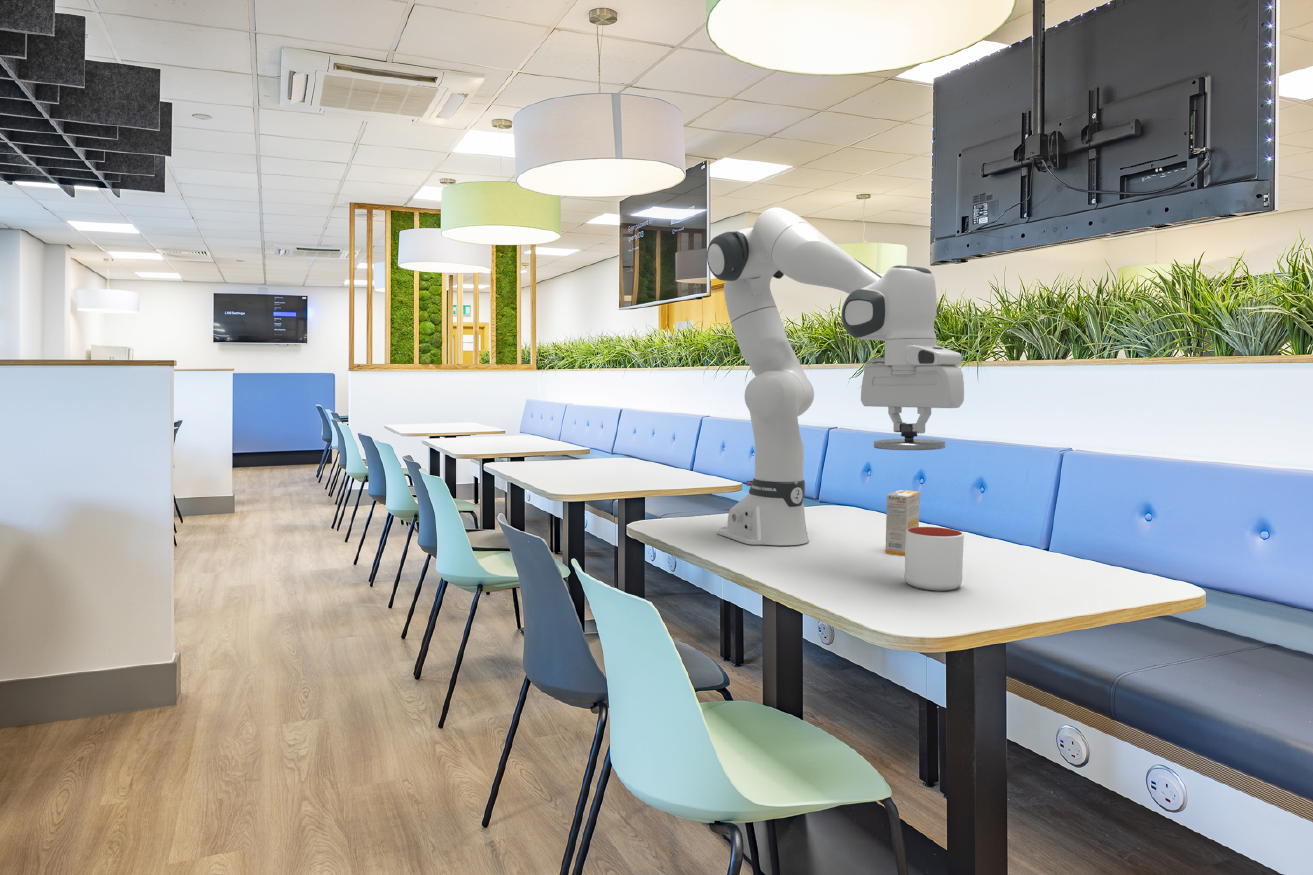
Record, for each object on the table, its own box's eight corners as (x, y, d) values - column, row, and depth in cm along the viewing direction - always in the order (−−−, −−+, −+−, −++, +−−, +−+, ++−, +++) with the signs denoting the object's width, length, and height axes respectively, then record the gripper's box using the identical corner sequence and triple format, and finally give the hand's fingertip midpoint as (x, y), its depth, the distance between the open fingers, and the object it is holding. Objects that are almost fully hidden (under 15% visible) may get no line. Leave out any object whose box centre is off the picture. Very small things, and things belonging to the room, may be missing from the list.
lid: (860, 448, 152) (860, 424, 152) (897, 443, 161) (896, 421, 160) (922, 451, 143) (922, 427, 143) (958, 446, 152) (958, 423, 151)
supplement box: (897, 547, 188) (899, 489, 187) (918, 550, 185) (920, 491, 184) (883, 553, 181) (885, 493, 180) (905, 556, 178) (907, 495, 177)
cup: (965, 594, 148) (967, 538, 147) (906, 590, 150) (908, 535, 149) (957, 580, 157) (959, 528, 157) (902, 577, 159) (903, 525, 159)
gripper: (853, 357, 157) (853, 431, 158) (947, 353, 141) (946, 436, 142) (875, 357, 161) (875, 429, 162) (970, 354, 145) (968, 434, 145)
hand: (909, 432), depth 152 cm, fingers closed on lid, 3 cm apart
